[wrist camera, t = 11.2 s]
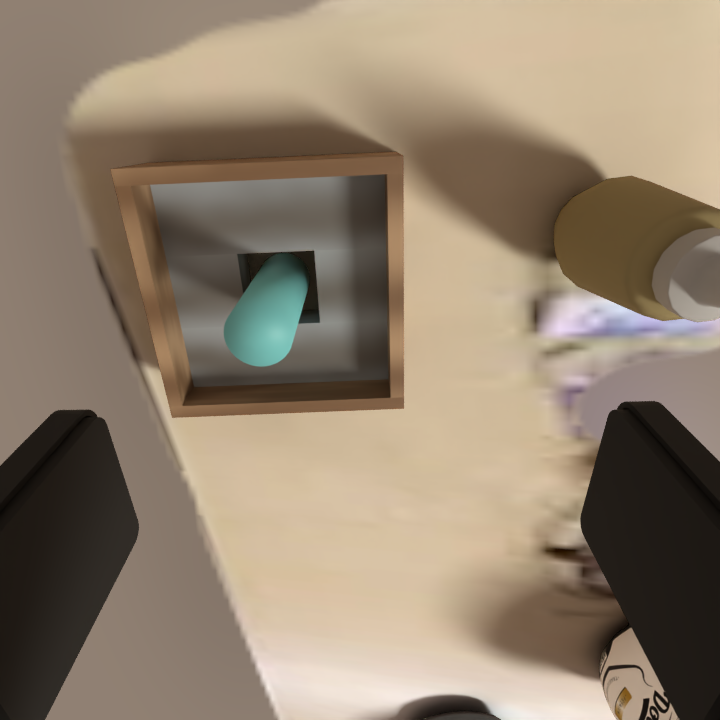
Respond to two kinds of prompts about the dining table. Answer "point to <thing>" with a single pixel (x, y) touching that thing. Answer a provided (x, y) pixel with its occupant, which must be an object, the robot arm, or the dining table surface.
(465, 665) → the dining table surface
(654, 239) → the squeeze bottle
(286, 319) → the peg
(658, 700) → the doce de leite jar
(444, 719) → the casserole
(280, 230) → the box
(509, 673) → the dining table surface
